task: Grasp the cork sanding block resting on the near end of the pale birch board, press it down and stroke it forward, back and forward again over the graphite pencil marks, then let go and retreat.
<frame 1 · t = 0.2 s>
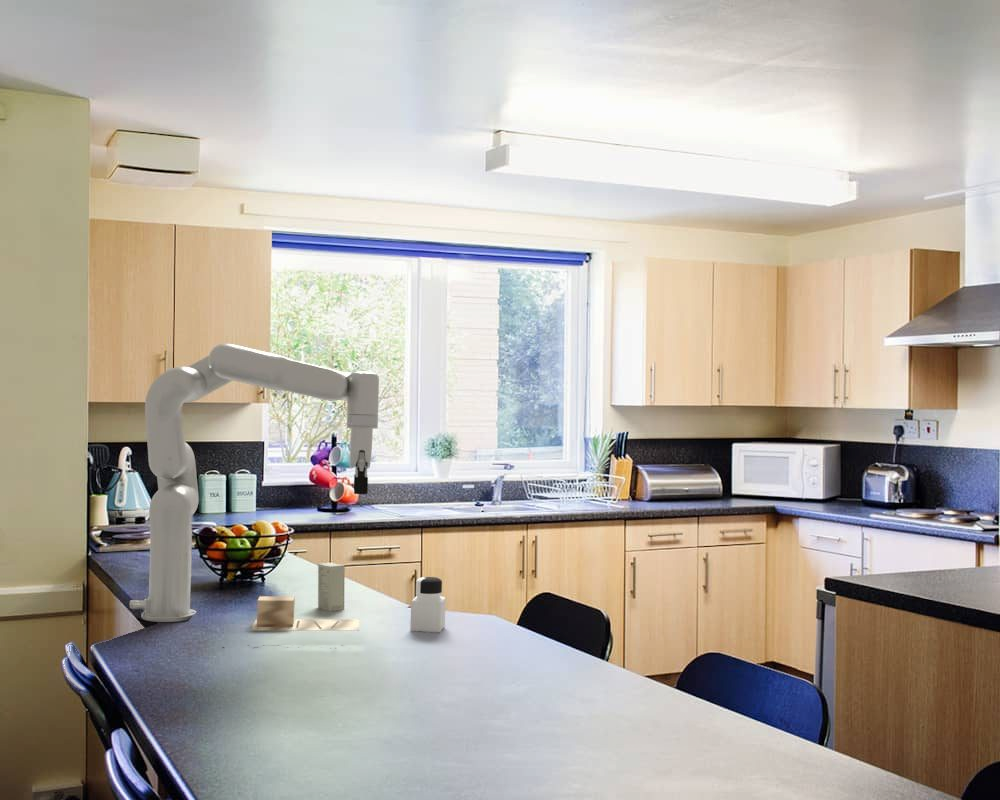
hand: (360, 492, 257), 31 cm above the countertop, fingers open, 9 cm apart
board: (306, 629, 242), on the countertop
sanding block: (275, 624, 241), point 1 cm above the countertop, touching board
skincare box: (330, 613, 262), on the countertop
medicine bottle: (427, 629, 247), on the countertop
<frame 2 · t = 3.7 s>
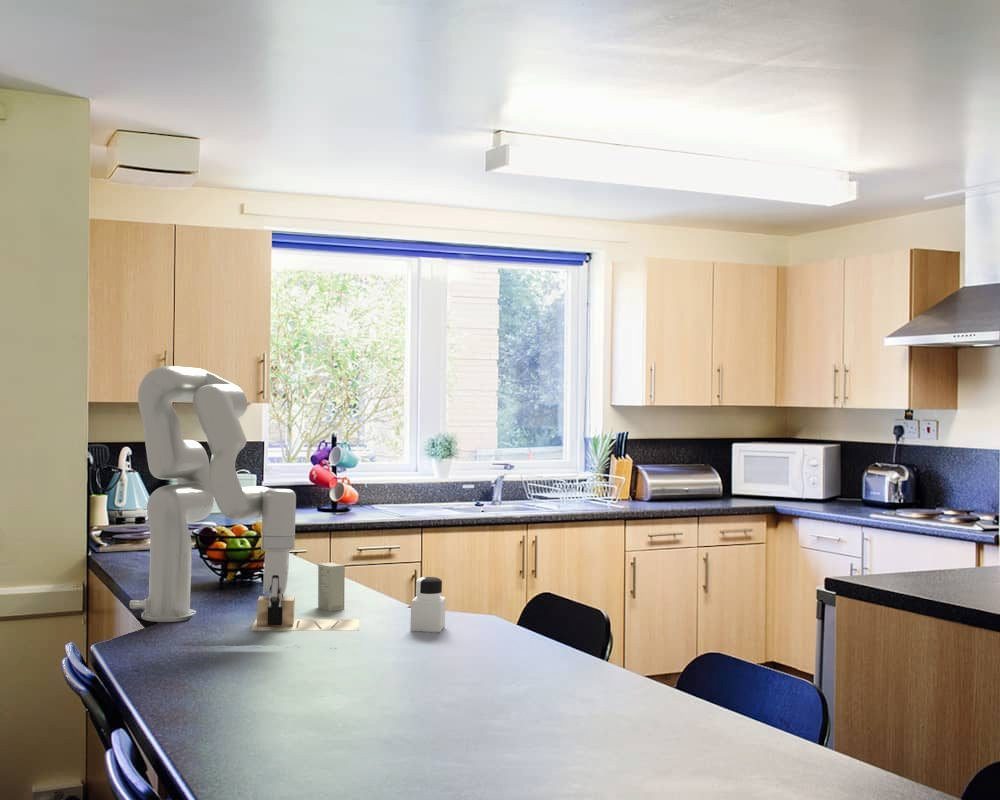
hand: (275, 621, 241), 2 cm above the countertop, fingers closed on sanding block, 5 cm apart
sanding block: (275, 624, 241), point 1 cm above the countertop, touching board, gripper
everything else where it was.
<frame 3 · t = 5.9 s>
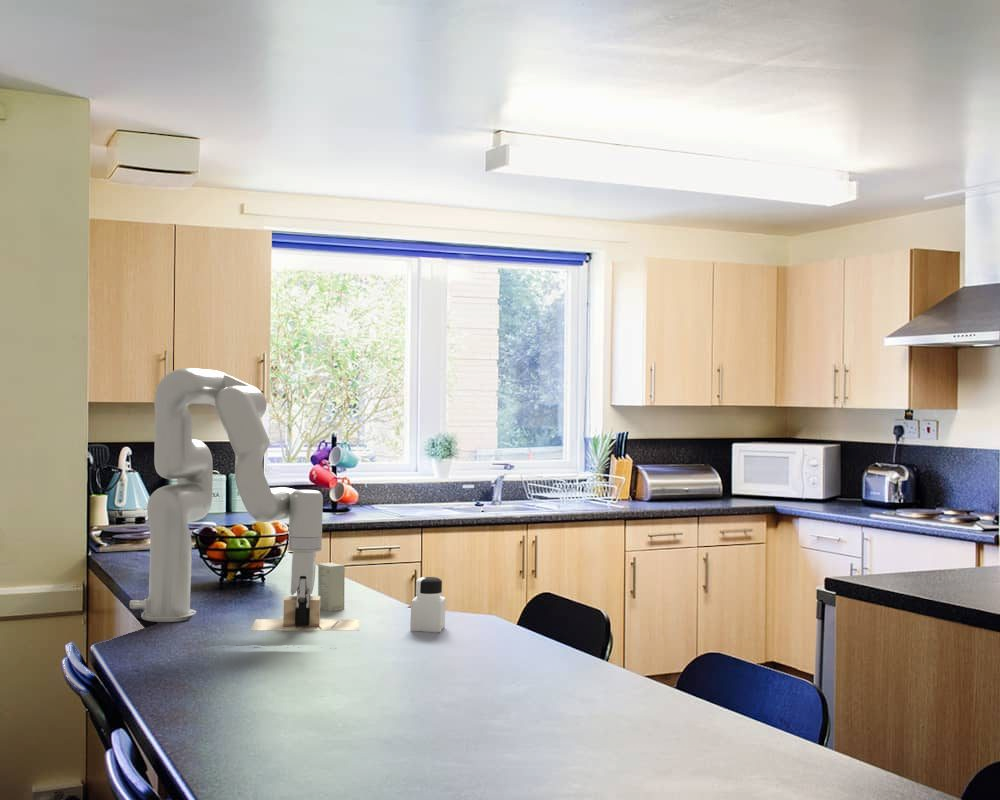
hand: (302, 622, 242), 2 cm above the countertop, fingers closed on sanding block, 5 cm apart
sanding block: (301, 624, 242), point 1 cm above the countertop, touching gripper
everything else where it was.
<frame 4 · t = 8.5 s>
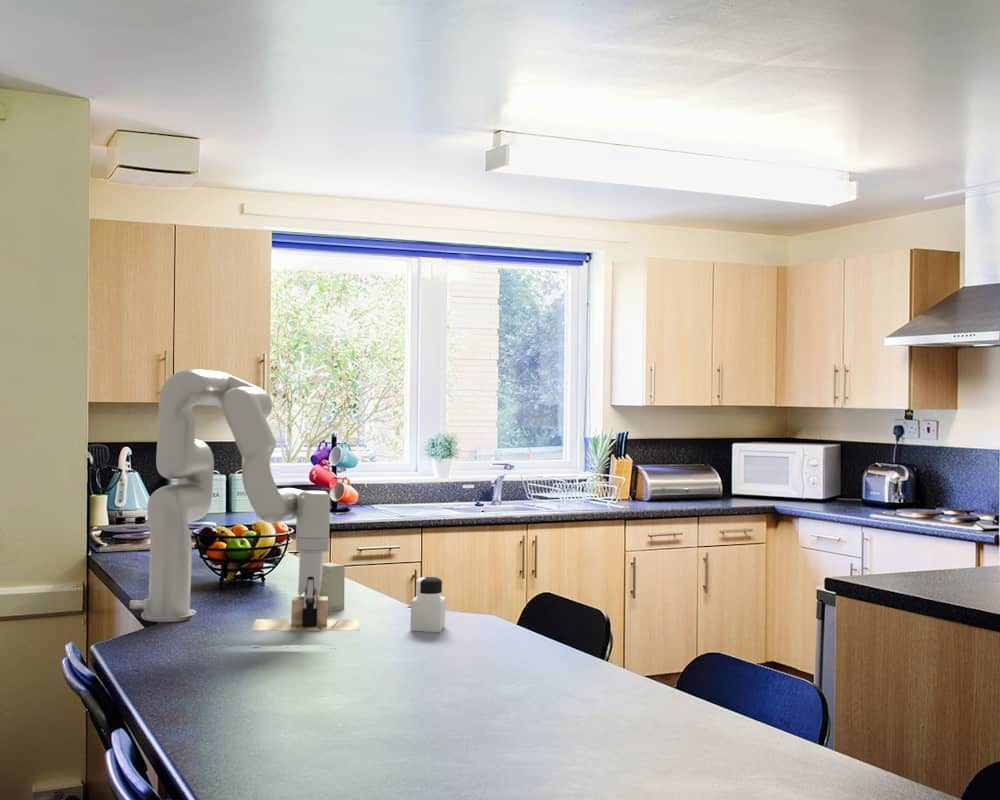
hand: (310, 622, 242), 2 cm above the countertop, fingers closed on sanding block, 5 cm apart
sanding block: (309, 624, 242), point 1 cm above the countertop, touching gripper
everything else where it was.
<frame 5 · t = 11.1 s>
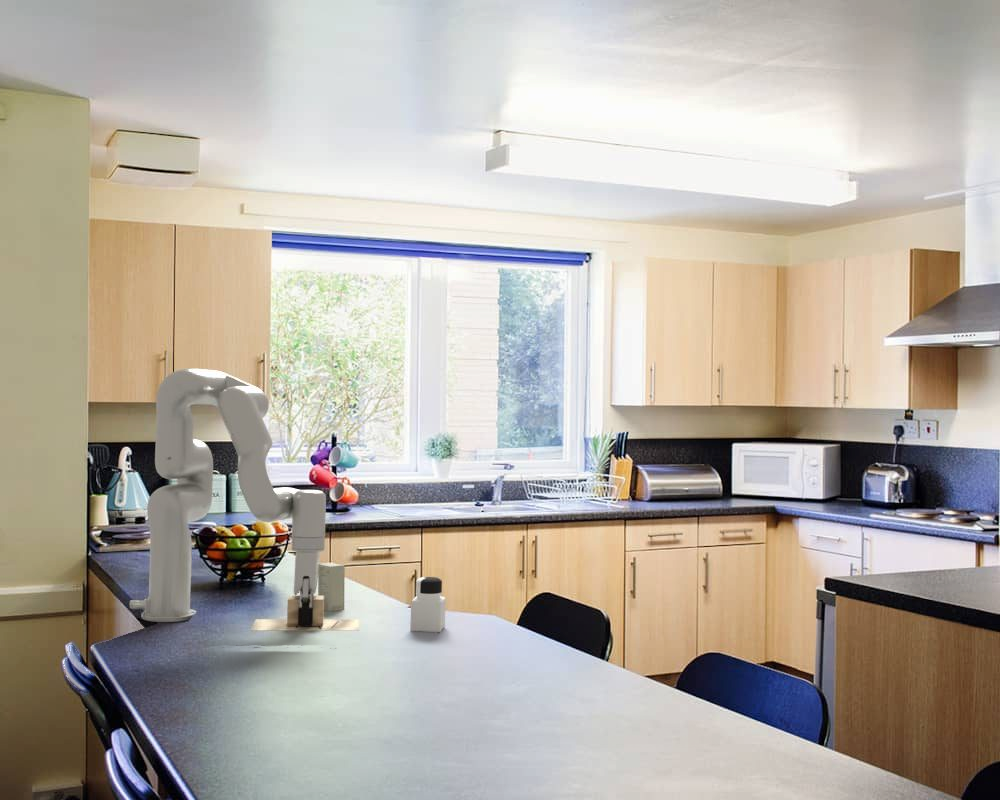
hand: (305, 622, 242), 2 cm above the countertop, fingers closed on sanding block, 5 cm apart
sanding block: (305, 623, 242), point 1 cm above the countertop, touching gripper
everything else where it was.
when the fingers open (2 cm above the countertop, at t = 13.3 s): sanding block stays where it is, resting on board.
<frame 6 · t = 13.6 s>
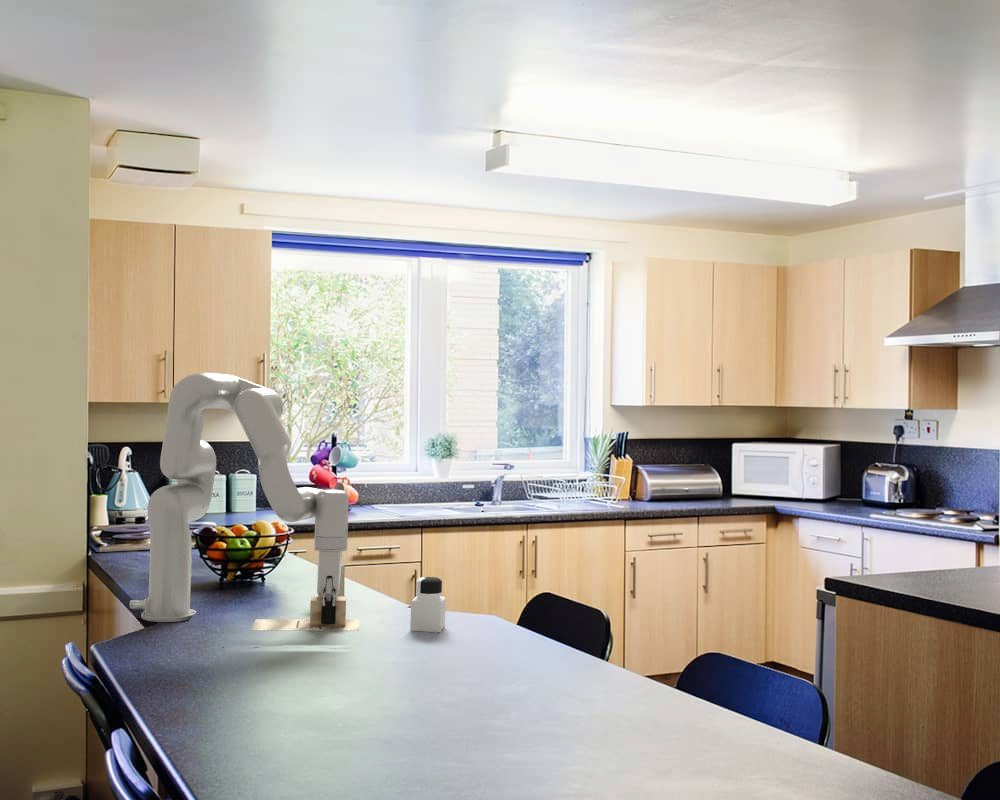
hand: (328, 619, 243), 2 cm above the countertop, fingers open, 7 cm apart
sanding block: (327, 624, 243), point 1 cm above the countertop, touching board
everything else where it was.
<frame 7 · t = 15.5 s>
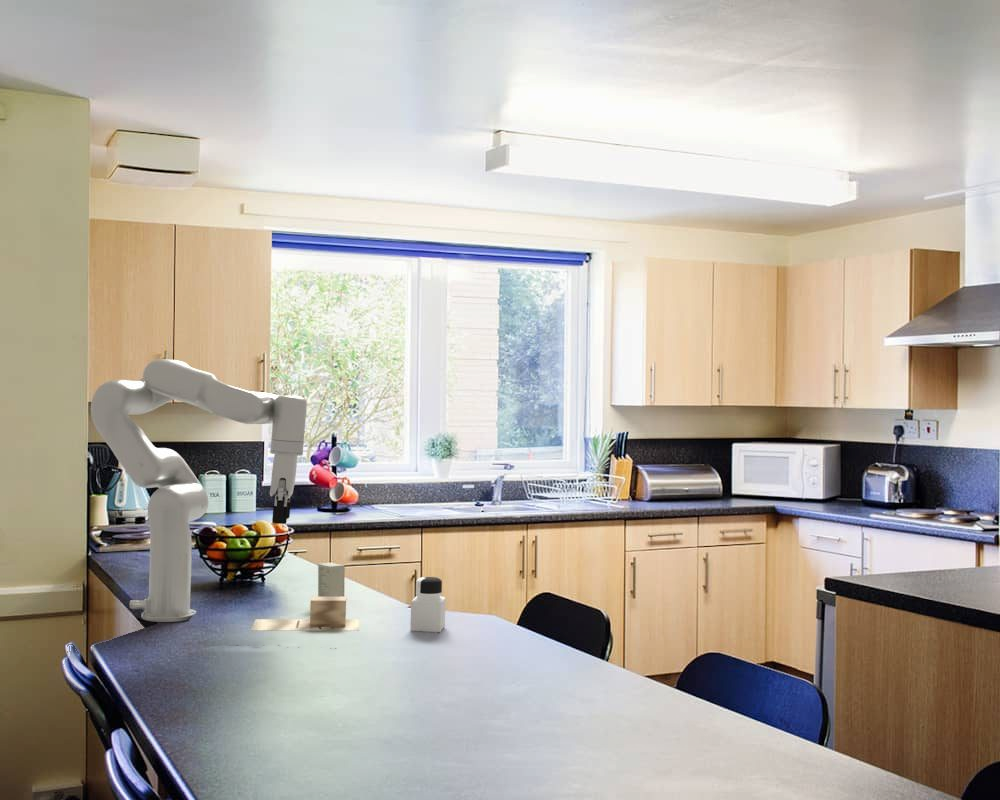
hand: (280, 520, 247), 24 cm above the countertop, fingers open, 9 cm apart
nothing on the countertop moved.
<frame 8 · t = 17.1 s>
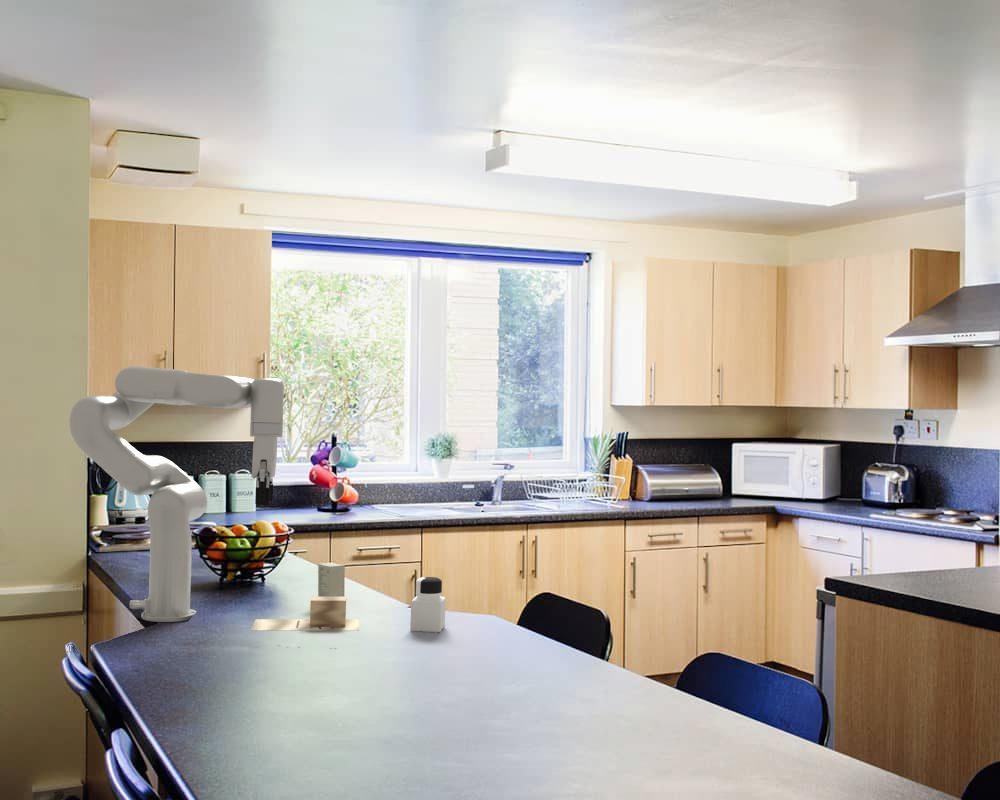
hand: (264, 502, 249), 28 cm above the countertop, fingers open, 9 cm apart
nothing on the countertop moved.
at the end: sanding block inside the target area (0.2 cm from its centre), point 1.2 cm above the countertop; sanding block tilted 0°; sanding block moved 11.8 cm from its start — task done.
